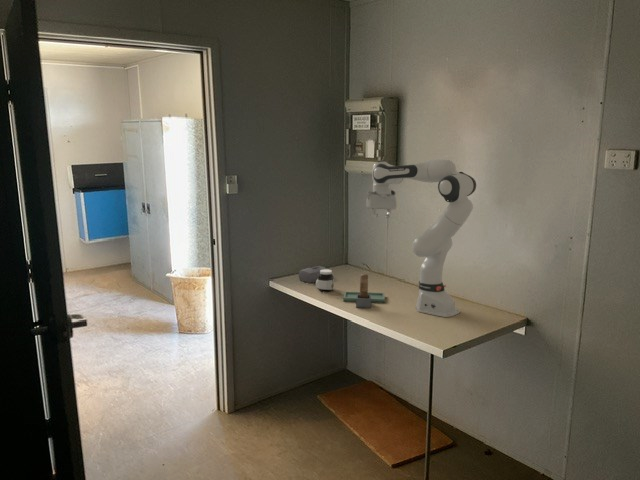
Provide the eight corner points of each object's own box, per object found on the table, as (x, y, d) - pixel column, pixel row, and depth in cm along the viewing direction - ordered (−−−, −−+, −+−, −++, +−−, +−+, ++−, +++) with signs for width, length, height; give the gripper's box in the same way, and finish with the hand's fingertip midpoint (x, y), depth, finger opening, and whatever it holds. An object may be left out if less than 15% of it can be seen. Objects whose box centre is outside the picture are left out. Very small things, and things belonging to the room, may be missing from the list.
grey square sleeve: (370, 303, 270) (371, 294, 269) (370, 308, 263) (370, 299, 262) (356, 303, 271) (356, 294, 270) (356, 307, 264) (356, 298, 263)
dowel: (368, 304, 267) (369, 275, 264) (363, 306, 264) (364, 276, 261) (363, 302, 270) (363, 273, 267) (358, 304, 267) (358, 275, 264)
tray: (384, 296, 283) (384, 292, 283) (384, 302, 272) (384, 299, 271) (344, 294, 286) (344, 291, 285) (343, 301, 274) (343, 297, 274)
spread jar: (327, 293, 289) (327, 273, 287) (310, 290, 294) (310, 271, 292) (337, 288, 299) (337, 269, 297) (320, 285, 304) (320, 266, 302)
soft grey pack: (311, 284, 307) (335, 278, 320) (311, 271, 305) (335, 266, 319) (295, 279, 318) (319, 274, 331) (295, 266, 316) (319, 261, 330)
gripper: (371, 190, 267) (372, 216, 267) (397, 192, 280) (398, 217, 280) (363, 191, 272) (364, 217, 272) (389, 193, 285) (390, 218, 285)
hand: (381, 217), depth 276 cm, fingers open, 8 cm apart
